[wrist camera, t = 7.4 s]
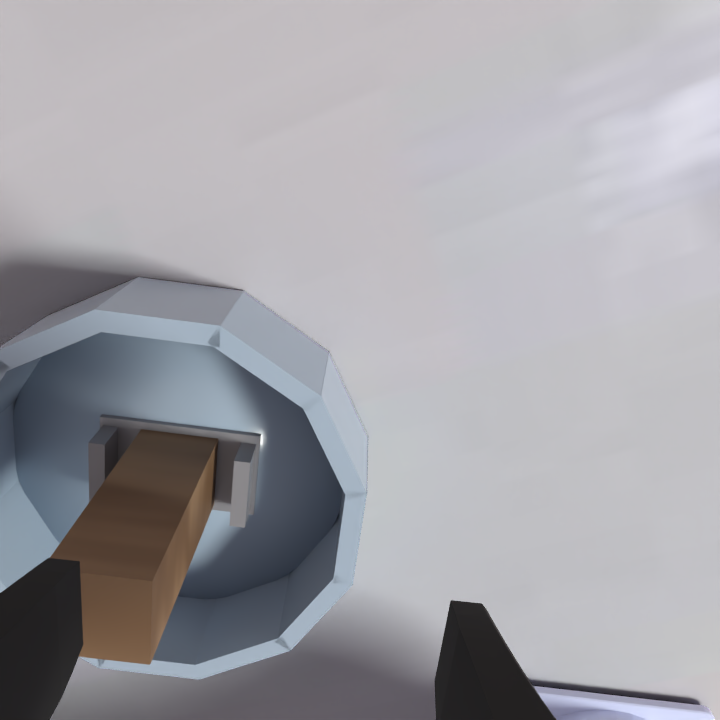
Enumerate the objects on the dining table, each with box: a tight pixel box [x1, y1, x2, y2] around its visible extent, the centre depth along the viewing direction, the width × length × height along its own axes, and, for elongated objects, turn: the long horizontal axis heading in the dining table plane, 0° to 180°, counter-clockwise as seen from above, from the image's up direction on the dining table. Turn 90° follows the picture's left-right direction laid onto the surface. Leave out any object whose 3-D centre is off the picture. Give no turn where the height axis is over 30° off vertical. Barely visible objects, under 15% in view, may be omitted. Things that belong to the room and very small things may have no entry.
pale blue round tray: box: [0, 277, 368, 680], centre depth 21 cm, size 12×12×4 cm
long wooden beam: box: [50, 429, 218, 665], centre depth 19 cm, size 2×2×7 cm
